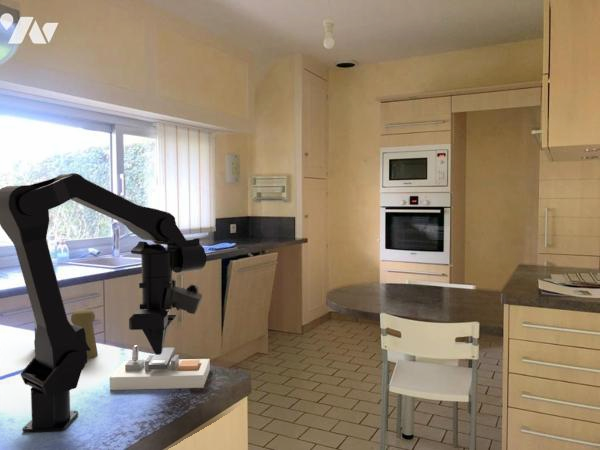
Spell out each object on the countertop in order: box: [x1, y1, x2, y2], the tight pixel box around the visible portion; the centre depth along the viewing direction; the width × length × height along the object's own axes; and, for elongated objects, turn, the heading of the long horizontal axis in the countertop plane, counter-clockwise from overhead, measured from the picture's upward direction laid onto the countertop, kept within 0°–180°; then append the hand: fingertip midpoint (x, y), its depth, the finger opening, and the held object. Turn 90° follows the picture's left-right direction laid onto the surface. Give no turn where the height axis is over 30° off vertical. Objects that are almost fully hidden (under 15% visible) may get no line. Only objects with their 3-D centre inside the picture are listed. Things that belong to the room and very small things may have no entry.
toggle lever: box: [131, 344, 140, 361], centre depth 102 cm, size 1×1×3 cm
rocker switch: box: [148, 346, 176, 369], centre depth 101 cm, size 8×4×1 cm, turn 3°
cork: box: [70, 308, 99, 360], centre depth 117 cm, size 6×6×11 cm
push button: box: [179, 360, 200, 371], centre depth 102 cm, size 4×4×3 cm
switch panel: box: [109, 354, 211, 391], centre depth 102 cm, size 10×18×4 cm, turn 93°
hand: (158, 354), depth 98 cm, fingers closed
